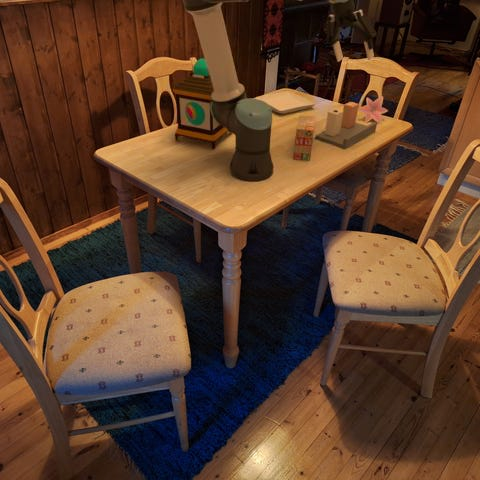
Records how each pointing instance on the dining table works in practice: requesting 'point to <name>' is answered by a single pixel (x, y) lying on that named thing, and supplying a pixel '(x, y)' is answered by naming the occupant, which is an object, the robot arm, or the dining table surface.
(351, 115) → the key two
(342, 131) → the tray
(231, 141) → the dining table surface
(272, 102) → the salad plate
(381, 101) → the lily
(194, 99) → the decorative lantern
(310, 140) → the stack of blocks
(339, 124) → the key one
